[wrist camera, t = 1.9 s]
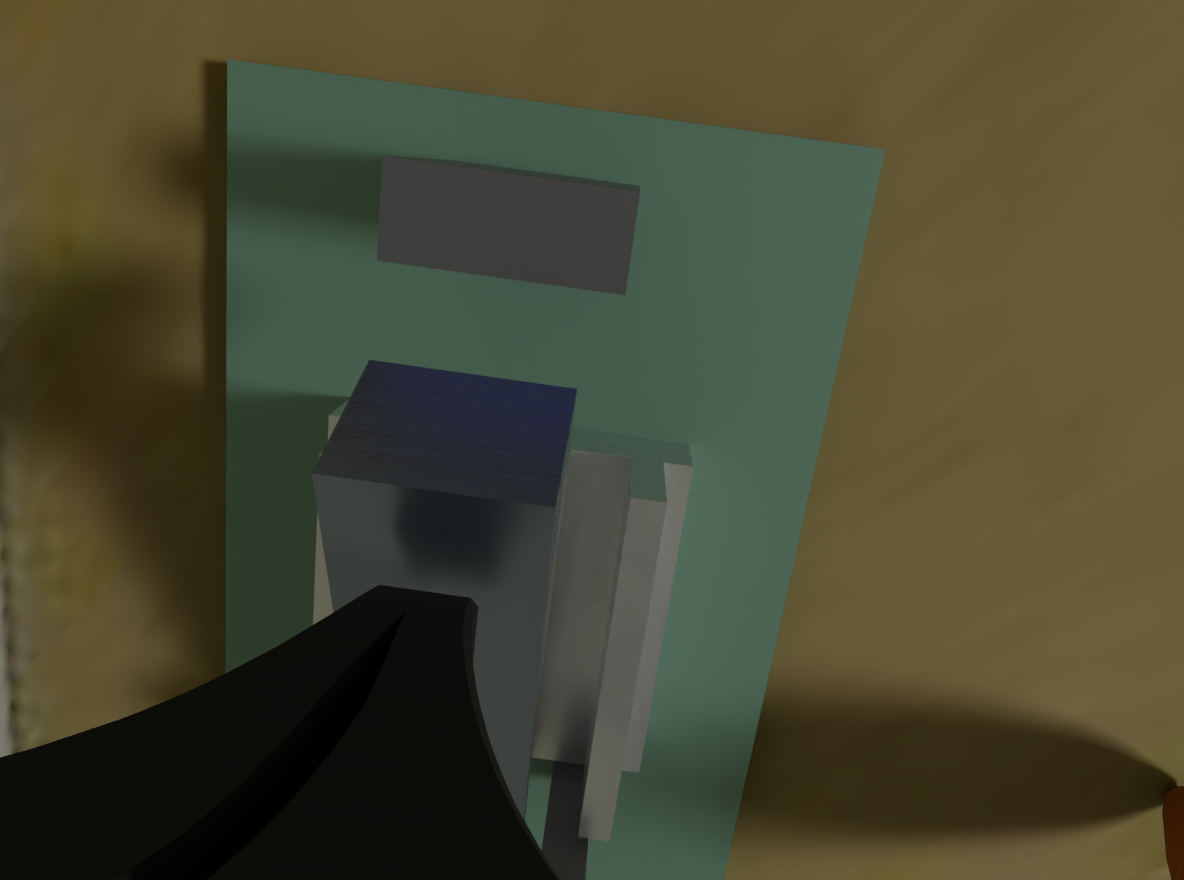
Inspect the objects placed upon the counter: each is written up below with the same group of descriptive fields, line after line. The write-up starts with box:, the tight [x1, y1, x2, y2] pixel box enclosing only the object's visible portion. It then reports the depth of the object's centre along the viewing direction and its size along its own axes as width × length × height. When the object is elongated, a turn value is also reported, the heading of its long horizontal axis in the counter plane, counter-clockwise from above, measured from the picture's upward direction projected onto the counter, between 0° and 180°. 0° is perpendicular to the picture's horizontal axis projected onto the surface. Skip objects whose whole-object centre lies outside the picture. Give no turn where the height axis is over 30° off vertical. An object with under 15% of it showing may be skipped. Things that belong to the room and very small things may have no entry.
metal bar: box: [312, 360, 577, 820], centre depth 15 cm, size 13×3×3 cm, turn 173°
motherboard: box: [225, 59, 885, 880], centre depth 22 cm, size 20×14×1 cm
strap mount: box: [377, 156, 640, 880], centre depth 18 cm, size 15×6×6 cm, turn 173°
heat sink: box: [313, 400, 693, 842], centre depth 20 cm, size 8×8×4 cm
